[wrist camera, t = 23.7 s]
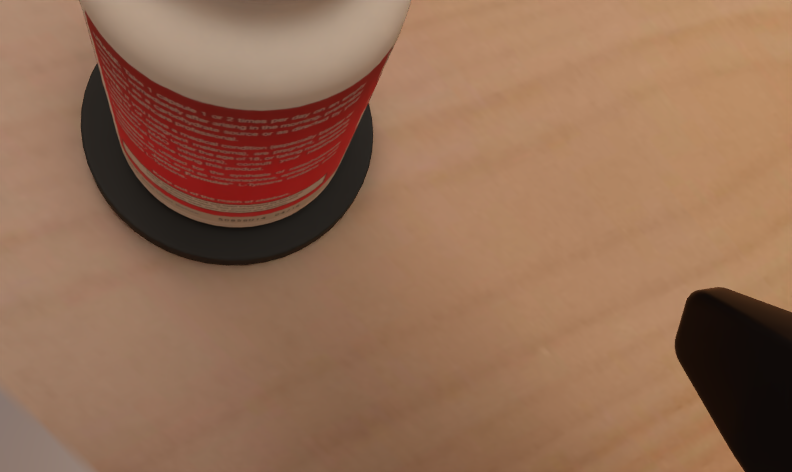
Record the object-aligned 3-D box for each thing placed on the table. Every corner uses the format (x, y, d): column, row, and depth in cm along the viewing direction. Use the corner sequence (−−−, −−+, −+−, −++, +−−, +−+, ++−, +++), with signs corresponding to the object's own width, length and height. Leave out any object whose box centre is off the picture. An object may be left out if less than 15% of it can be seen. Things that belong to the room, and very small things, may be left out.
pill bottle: (372, 201, 21) (531, -38, 11) (153, 260, 19) (90, 39, 9) (305, 11, 22) (390, -371, 12) (92, 49, 20) (-28, -366, 10)
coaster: (223, 326, 20) (223, 322, 19) (19, 112, 20) (13, 102, 19) (422, 146, 23) (428, 138, 22) (242, -39, 23) (242, -51, 22)
